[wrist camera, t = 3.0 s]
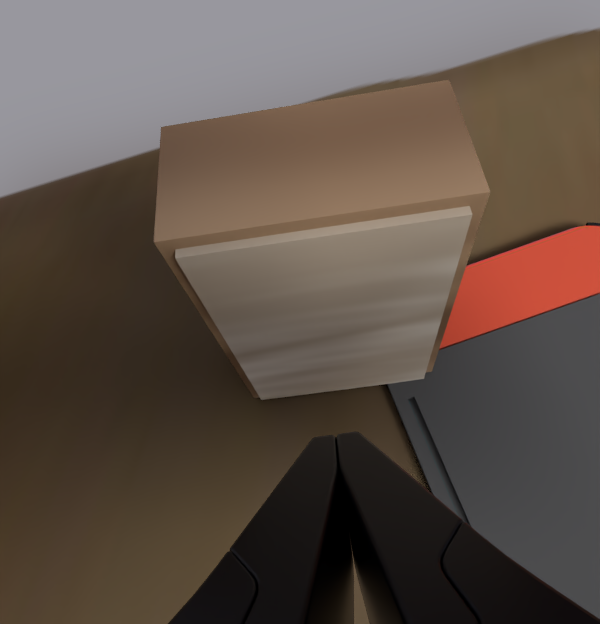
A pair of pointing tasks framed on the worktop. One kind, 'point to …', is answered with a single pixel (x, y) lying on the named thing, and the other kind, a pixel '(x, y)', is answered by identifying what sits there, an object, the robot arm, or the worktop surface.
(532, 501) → the gaming console
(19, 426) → the worktop surface
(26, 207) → the worktop surface
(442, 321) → the tan wooden block
